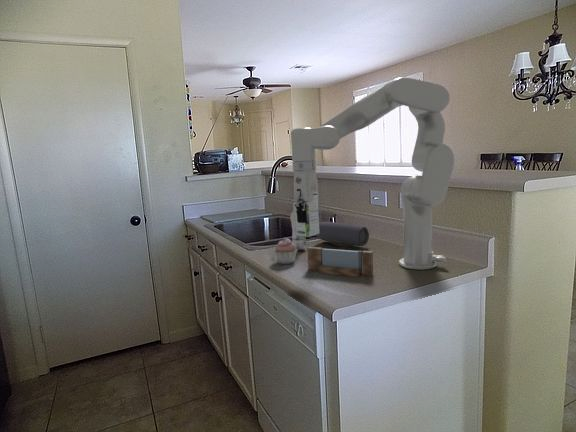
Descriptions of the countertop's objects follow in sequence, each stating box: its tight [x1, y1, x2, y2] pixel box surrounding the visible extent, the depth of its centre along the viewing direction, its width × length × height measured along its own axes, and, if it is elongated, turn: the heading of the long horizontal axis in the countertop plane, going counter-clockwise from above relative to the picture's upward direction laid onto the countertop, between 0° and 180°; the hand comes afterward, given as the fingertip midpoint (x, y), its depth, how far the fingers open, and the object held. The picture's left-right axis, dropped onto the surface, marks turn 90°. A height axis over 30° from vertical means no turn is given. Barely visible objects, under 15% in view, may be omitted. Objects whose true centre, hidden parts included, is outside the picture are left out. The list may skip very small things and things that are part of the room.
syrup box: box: [295, 190, 320, 238], centre depth 126 cm, size 6×6×14 cm
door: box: [322, 248, 363, 275], centre depth 131 cm, size 14×1×8 cm, turn 63°
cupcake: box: [273, 236, 299, 265], centre depth 146 cm, size 9×9×10 cm
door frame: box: [306, 246, 374, 278], centre depth 130 cm, size 23×4×8 cm, turn 63°
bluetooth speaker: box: [316, 221, 370, 248], centre depth 168 cm, size 23×9×10 cm, turn 46°
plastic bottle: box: [289, 203, 307, 251], centre depth 162 cm, size 6×7×20 cm
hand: (307, 219), depth 126 cm, fingers closed on syrup box, 7 cm apart
